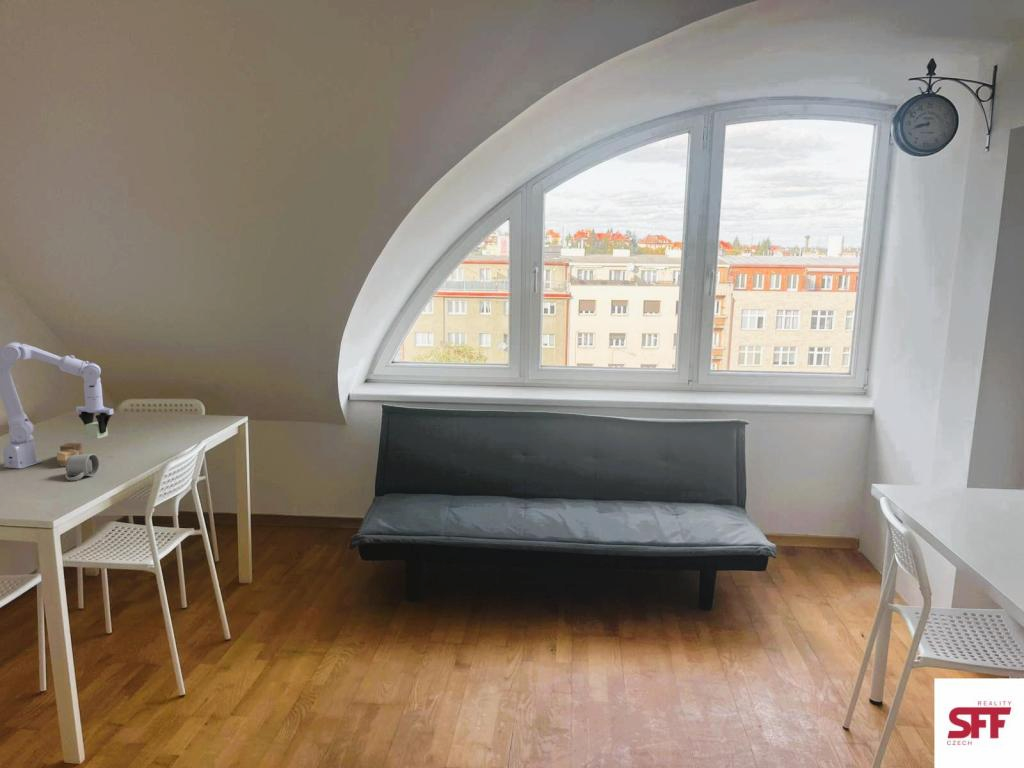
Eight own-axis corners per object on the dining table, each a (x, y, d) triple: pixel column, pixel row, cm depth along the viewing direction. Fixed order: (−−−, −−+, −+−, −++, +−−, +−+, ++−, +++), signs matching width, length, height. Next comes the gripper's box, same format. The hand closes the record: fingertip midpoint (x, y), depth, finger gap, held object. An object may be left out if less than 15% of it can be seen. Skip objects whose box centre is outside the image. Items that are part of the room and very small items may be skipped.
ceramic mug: (77, 472, 262) (75, 450, 261) (100, 472, 262) (98, 451, 260) (59, 481, 252) (56, 459, 250) (83, 482, 252) (80, 460, 250)
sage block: (97, 438, 275) (96, 425, 274) (86, 437, 276) (85, 424, 275) (107, 435, 280) (106, 422, 279) (96, 434, 281) (95, 421, 280)
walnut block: (74, 459, 277) (73, 446, 276) (61, 459, 277) (60, 446, 277) (82, 456, 282) (81, 443, 281) (69, 455, 282) (68, 442, 281)
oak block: (66, 467, 267) (64, 453, 267) (57, 465, 270) (56, 452, 269) (79, 464, 272) (78, 450, 271) (71, 462, 274) (70, 448, 273)
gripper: (118, 395, 278) (121, 431, 280) (85, 393, 281) (88, 428, 283) (104, 399, 271) (107, 435, 273) (70, 396, 274) (73, 432, 276)
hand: (96, 432), depth 278 cm, fingers closed on sage block, 5 cm apart
